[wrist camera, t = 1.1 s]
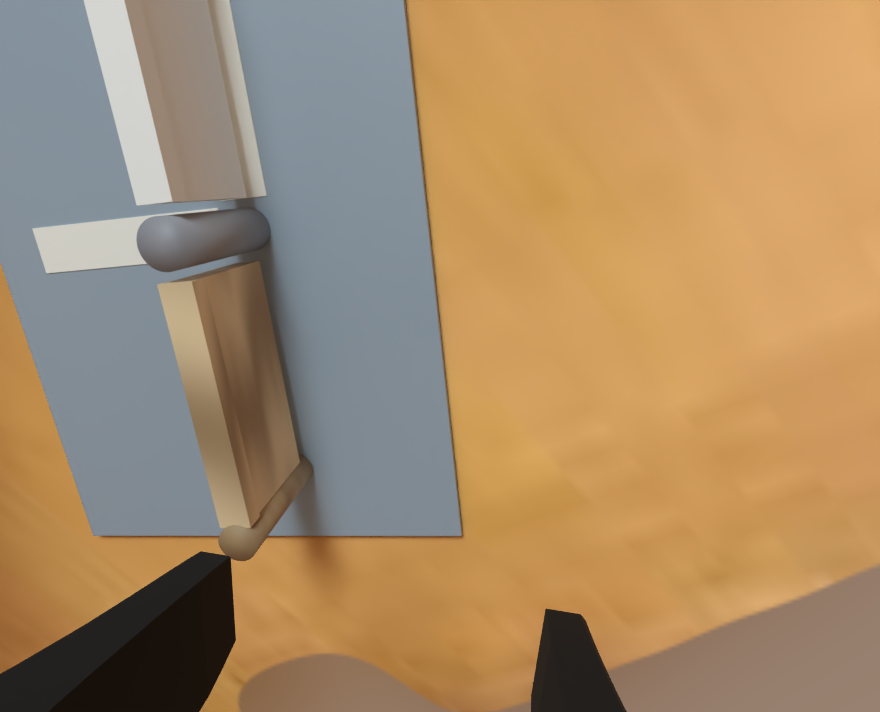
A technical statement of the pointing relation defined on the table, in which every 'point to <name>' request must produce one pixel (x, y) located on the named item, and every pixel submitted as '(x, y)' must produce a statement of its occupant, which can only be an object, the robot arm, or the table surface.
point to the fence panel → (236, 400)
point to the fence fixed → (174, 128)
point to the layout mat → (282, 263)
